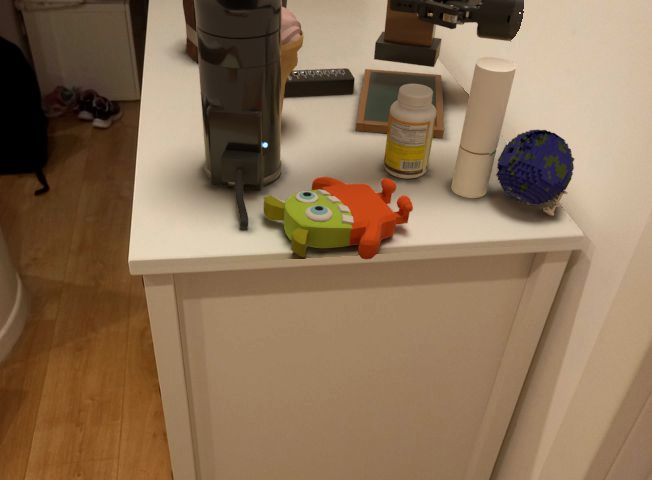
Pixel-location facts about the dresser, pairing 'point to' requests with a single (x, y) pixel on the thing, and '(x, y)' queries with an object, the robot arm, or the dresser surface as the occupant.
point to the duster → (407, 40)
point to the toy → (339, 215)
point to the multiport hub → (319, 82)
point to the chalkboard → (393, 98)
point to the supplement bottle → (410, 132)
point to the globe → (536, 168)
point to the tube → (482, 125)
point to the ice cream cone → (289, 46)
